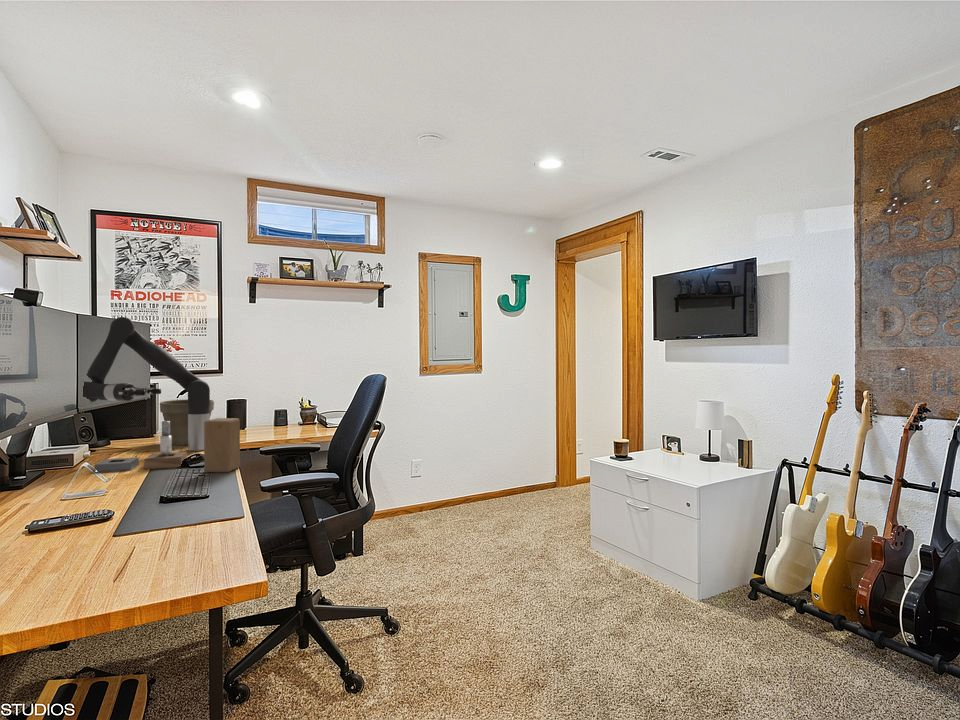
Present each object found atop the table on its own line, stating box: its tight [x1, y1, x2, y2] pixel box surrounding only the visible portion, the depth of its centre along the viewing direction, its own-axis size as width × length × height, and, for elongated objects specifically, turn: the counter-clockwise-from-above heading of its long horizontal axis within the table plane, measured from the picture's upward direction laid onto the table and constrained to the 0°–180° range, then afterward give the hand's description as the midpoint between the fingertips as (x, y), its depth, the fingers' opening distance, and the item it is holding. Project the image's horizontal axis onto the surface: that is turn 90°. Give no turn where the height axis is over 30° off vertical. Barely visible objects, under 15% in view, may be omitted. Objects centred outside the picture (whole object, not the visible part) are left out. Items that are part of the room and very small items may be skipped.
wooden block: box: [203, 417, 241, 473], centre depth 213 cm, size 10×10×20 cm
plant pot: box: [159, 398, 215, 446], centre depth 280 cm, size 25×25×22 cm
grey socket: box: [94, 457, 140, 473], centre depth 216 cm, size 12×12×3 cm
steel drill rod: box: [159, 421, 173, 457], centre depth 223 cm, size 4×4×18 cm
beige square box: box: [143, 451, 188, 470], centre depth 223 cm, size 13×13×4 cm
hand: (152, 392), depth 228 cm, fingers open, 8 cm apart
